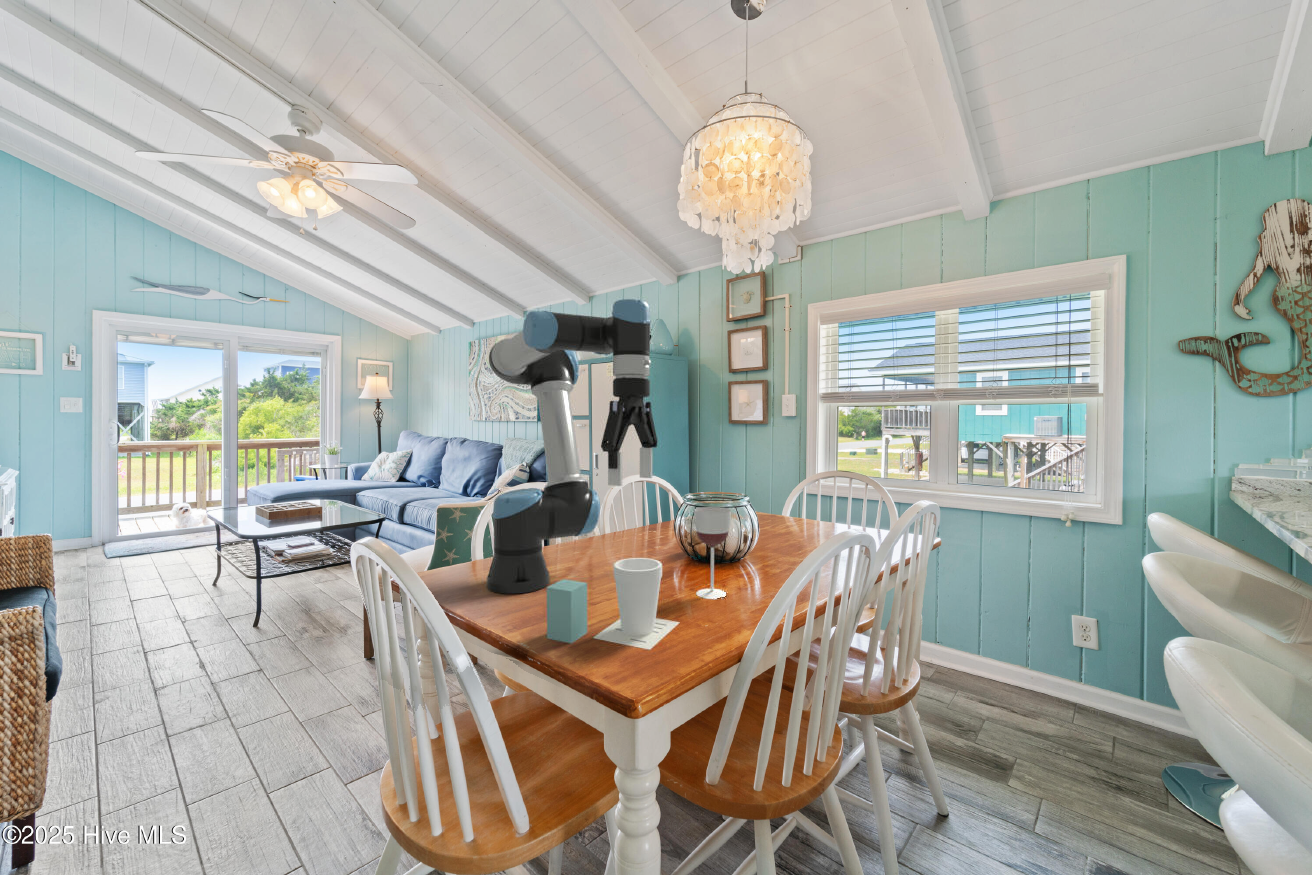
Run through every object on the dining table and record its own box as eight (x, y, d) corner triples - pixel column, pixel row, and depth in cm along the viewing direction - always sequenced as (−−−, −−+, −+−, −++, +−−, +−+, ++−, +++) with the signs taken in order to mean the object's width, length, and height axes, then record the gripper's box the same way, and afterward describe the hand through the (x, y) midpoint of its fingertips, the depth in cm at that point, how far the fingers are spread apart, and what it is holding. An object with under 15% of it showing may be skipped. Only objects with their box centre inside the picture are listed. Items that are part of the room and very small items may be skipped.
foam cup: (655, 641, 101) (655, 572, 100) (608, 637, 103) (608, 569, 102) (665, 622, 110) (665, 559, 110) (621, 618, 112) (621, 556, 112)
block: (563, 628, 108) (563, 579, 107) (587, 633, 105) (587, 582, 105) (547, 639, 103) (546, 587, 102) (571, 644, 100) (571, 591, 100)
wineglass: (736, 597, 126) (736, 511, 125) (701, 601, 123) (701, 513, 122) (722, 586, 134) (722, 506, 133) (689, 590, 131) (689, 507, 130)
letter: (592, 638, 103) (592, 637, 103) (627, 613, 115) (627, 612, 115) (649, 650, 98) (649, 649, 98) (679, 623, 110) (679, 622, 110)
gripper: (617, 373, 98) (617, 490, 99) (672, 380, 120) (672, 475, 121) (582, 374, 101) (582, 487, 102) (642, 381, 123) (642, 474, 124)
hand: (631, 481), depth 111 cm, fingers open, 13 cm apart
